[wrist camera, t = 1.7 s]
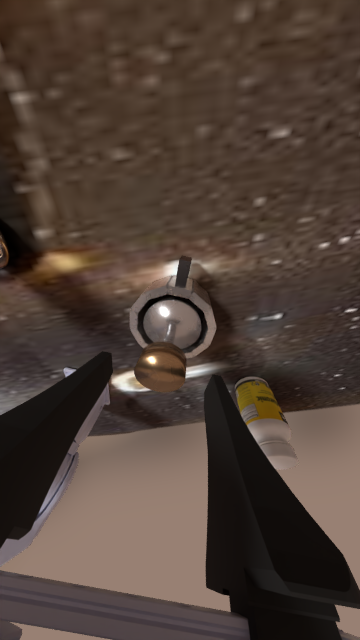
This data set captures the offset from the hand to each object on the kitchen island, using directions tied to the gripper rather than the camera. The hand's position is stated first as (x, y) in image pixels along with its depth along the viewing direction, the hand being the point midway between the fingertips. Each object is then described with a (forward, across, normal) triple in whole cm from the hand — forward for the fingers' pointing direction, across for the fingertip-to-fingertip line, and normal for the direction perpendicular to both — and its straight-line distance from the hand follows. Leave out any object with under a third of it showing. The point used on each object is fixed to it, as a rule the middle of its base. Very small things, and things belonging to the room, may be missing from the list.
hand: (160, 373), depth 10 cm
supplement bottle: (+10, -15, +11) cm, 21 cm away
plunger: (+7, 0, 0) cm, 7 cm away
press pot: (+10, 0, -1) cm, 10 cm away
